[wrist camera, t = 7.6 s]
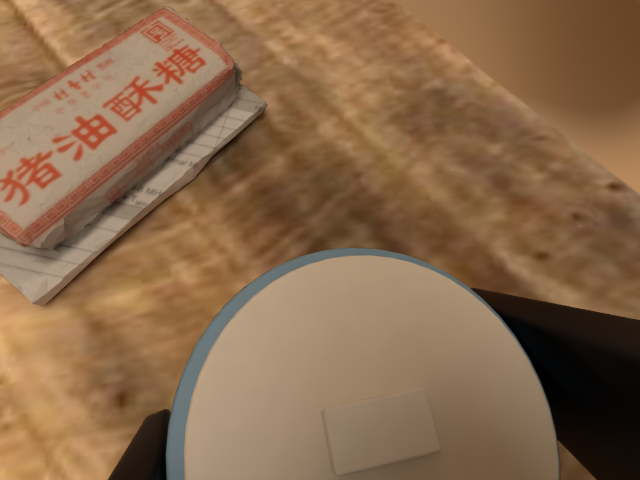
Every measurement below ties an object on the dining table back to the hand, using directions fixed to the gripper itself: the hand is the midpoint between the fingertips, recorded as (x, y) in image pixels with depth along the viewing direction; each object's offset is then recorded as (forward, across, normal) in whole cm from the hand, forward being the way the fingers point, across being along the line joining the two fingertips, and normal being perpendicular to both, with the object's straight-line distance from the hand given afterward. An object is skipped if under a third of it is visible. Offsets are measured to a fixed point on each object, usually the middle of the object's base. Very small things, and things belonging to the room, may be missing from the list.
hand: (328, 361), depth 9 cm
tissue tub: (+4, 0, +6) cm, 7 cm away
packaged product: (+22, +6, -3) cm, 23 cm away
